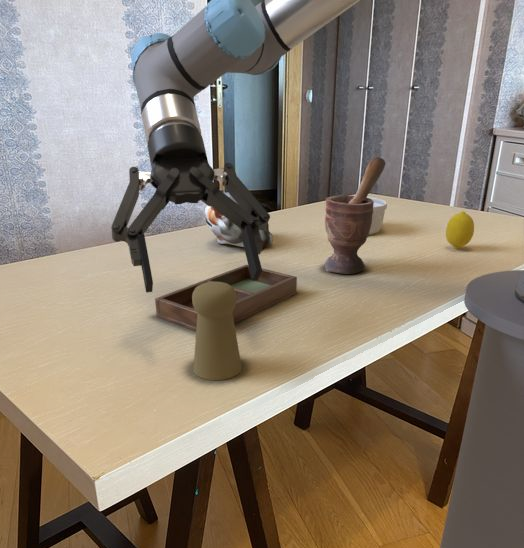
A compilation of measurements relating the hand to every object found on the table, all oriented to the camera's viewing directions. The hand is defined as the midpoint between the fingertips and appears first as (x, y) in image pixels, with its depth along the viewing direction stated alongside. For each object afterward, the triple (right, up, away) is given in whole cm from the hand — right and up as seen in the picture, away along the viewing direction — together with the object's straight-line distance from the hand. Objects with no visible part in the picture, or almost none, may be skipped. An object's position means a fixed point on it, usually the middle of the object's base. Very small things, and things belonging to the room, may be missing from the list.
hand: (204, 281), depth 66 cm
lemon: (+49, +13, +48) cm, 70 cm away
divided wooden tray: (+2, -1, +20) cm, 20 cm away
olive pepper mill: (+1, -11, +1) cm, 11 cm away
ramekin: (+30, +20, +63) cm, 72 cm away
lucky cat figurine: (+2, +15, +52) cm, 54 cm away
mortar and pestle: (+24, +8, +37) cm, 45 cm away
